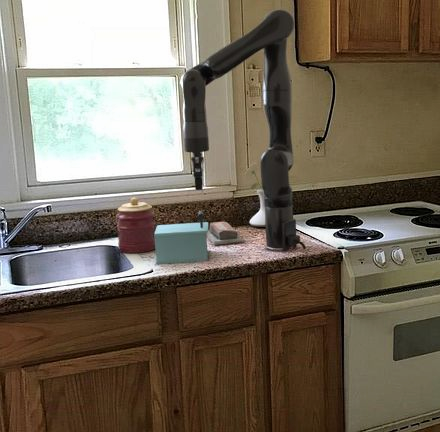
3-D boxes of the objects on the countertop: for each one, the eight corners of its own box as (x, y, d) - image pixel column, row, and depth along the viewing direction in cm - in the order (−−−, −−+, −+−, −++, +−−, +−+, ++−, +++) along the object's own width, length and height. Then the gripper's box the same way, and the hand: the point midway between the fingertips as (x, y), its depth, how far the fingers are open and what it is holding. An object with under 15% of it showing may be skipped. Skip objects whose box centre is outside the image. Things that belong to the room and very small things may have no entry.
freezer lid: (208, 224, 209) (207, 208, 208) (208, 232, 197) (207, 215, 196) (157, 227, 207) (156, 211, 206) (154, 236, 195) (152, 219, 194)
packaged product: (204, 222, 233) (230, 219, 236) (204, 235, 234) (231, 232, 237) (213, 232, 216) (242, 229, 219) (214, 246, 217) (242, 242, 220)
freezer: (207, 250, 211) (205, 224, 209) (207, 260, 199) (205, 233, 197) (159, 253, 209) (157, 227, 207) (156, 264, 197) (154, 236, 195)
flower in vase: (267, 221, 253) (264, 158, 249) (285, 225, 245) (282, 160, 240) (240, 226, 246) (236, 162, 241) (257, 231, 237) (253, 164, 232)
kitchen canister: (146, 242, 226) (142, 193, 223) (164, 248, 217) (160, 196, 213) (112, 249, 218) (107, 198, 215) (130, 255, 208) (125, 202, 205)
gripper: (208, 137, 191) (211, 190, 194) (208, 133, 205) (211, 183, 208) (182, 138, 190) (186, 192, 193) (184, 134, 204) (187, 185, 207)
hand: (199, 187), depth 200 cm, fingers open, 8 cm apart
